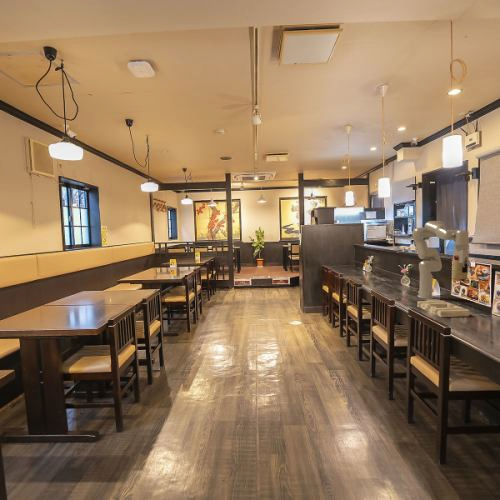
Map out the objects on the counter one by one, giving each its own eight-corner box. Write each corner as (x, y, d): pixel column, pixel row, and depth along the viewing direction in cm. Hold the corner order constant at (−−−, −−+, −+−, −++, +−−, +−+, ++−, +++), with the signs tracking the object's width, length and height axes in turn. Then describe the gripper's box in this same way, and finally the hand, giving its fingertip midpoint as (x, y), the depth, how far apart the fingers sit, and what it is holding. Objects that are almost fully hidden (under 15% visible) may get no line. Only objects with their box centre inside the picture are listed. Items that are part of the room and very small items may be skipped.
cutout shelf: (417, 306, 231) (417, 301, 231) (442, 305, 232) (442, 300, 232) (440, 316, 205) (440, 311, 205) (469, 316, 206) (469, 310, 206)
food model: (453, 281, 220) (454, 254, 219) (450, 279, 227) (451, 253, 225) (469, 282, 217) (470, 254, 216) (465, 280, 224) (467, 253, 222)
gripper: (447, 246, 228) (446, 270, 230) (466, 248, 211) (464, 273, 212) (457, 246, 229) (456, 269, 230) (476, 248, 212) (474, 273, 213)
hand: (460, 271), depth 221 cm, fingers closed on food model, 7 cm apart
